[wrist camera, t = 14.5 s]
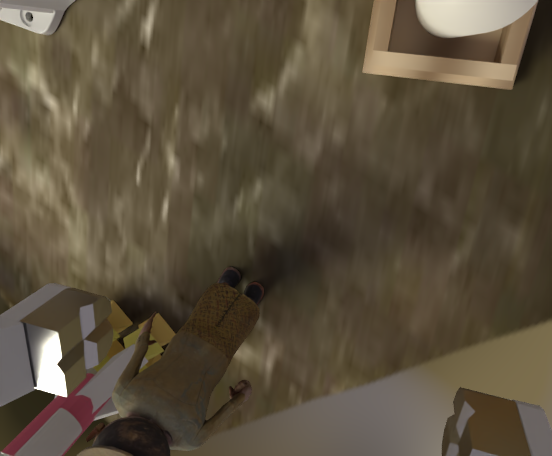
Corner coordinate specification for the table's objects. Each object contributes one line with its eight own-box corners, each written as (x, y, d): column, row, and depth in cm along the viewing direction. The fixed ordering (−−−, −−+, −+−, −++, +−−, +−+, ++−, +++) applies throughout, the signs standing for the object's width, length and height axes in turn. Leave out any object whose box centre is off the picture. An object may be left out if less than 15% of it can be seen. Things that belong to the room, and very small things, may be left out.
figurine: (179, 299, 50) (-80, 584, 24) (213, 238, 46) (-57, 503, 20) (261, 353, 50) (91, 704, 23) (303, 297, 46) (153, 648, 19)
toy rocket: (136, 393, 59) (-94, 685, 32) (77, 324, 57) (-220, 573, 30) (198, 361, 53) (-14, 679, 27) (135, 284, 52) (-161, 542, 25)
